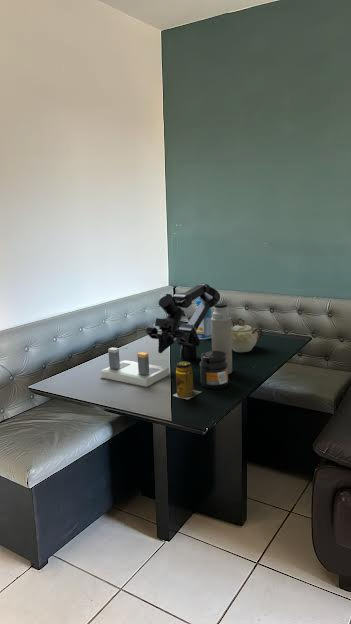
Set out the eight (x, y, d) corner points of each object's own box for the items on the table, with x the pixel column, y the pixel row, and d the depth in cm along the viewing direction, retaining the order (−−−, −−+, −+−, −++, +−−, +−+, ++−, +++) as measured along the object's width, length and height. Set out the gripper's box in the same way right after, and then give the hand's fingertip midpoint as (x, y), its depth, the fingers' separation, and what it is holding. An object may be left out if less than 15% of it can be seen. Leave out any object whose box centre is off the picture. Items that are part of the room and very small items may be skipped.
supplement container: (227, 389, 182) (226, 358, 179) (198, 389, 184) (197, 358, 181) (229, 379, 192) (228, 350, 190) (202, 379, 194) (201, 350, 191)
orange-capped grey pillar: (142, 371, 196) (141, 352, 194) (149, 373, 194) (148, 353, 192) (138, 373, 194) (137, 353, 192) (145, 374, 192) (144, 354, 190)
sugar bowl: (216, 352, 227) (215, 320, 224) (227, 343, 240) (226, 313, 237) (257, 356, 219) (257, 323, 216) (267, 347, 232) (266, 316, 229)
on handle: (113, 366, 204) (112, 347, 202) (120, 367, 202) (118, 348, 200) (109, 368, 202) (108, 348, 200) (116, 369, 200) (114, 350, 198)
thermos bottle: (215, 367, 207) (213, 302, 201) (234, 368, 204) (232, 302, 198) (210, 374, 199) (208, 306, 193) (229, 375, 197) (228, 306, 191)
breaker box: (125, 366, 214) (124, 359, 213) (168, 374, 201) (168, 367, 200) (101, 377, 202) (100, 369, 201) (146, 386, 189) (146, 378, 188)
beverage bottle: (212, 339, 249) (211, 300, 245) (196, 340, 249) (194, 301, 245) (211, 335, 258) (210, 297, 253) (195, 335, 258) (194, 298, 253)
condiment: (171, 395, 179) (170, 364, 176) (186, 388, 185) (185, 358, 183) (187, 400, 174) (186, 367, 172) (202, 392, 181) (200, 361, 178)
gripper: (146, 308, 207) (131, 340, 200) (183, 311, 197) (169, 346, 190) (158, 321, 215) (144, 353, 209) (195, 326, 205) (181, 359, 198)
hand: (159, 352), depth 201 cm, fingers closed
